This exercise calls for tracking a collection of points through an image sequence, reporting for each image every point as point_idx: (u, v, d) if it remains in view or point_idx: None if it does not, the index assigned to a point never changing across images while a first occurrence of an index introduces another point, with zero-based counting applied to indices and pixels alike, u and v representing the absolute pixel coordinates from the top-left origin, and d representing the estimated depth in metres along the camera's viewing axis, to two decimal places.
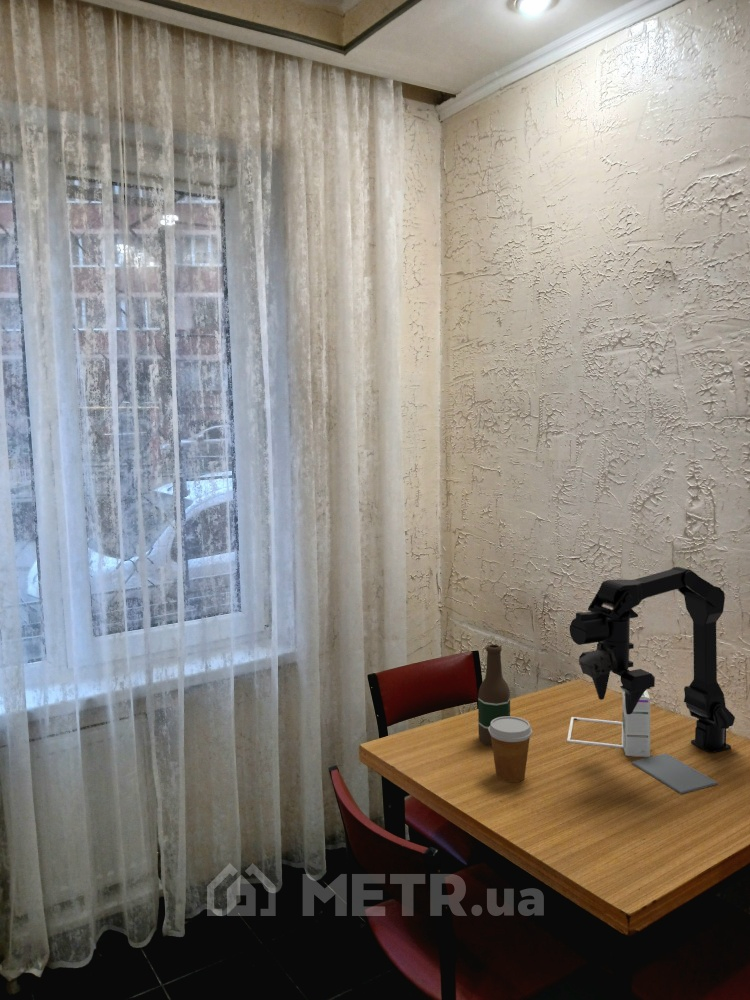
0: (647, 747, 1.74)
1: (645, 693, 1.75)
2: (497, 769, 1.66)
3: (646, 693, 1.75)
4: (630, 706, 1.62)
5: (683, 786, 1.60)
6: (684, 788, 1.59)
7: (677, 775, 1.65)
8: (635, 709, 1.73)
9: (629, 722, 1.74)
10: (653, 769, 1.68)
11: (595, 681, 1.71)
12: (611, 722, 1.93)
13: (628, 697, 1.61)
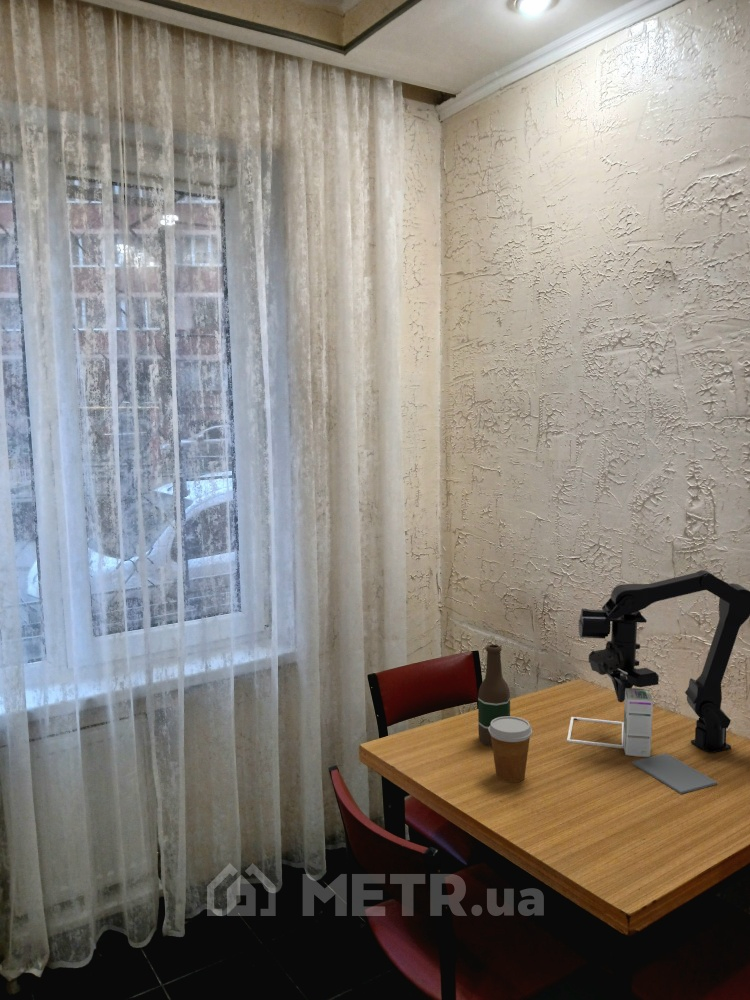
0: (648, 748, 1.74)
1: (648, 695, 1.74)
2: (497, 769, 1.66)
3: (649, 695, 1.74)
4: (622, 695, 1.79)
5: (683, 786, 1.60)
6: (684, 788, 1.59)
7: (677, 775, 1.65)
8: (637, 711, 1.72)
9: (631, 723, 1.73)
10: (653, 769, 1.68)
11: (615, 684, 1.80)
12: (611, 722, 1.93)
13: (620, 686, 1.78)
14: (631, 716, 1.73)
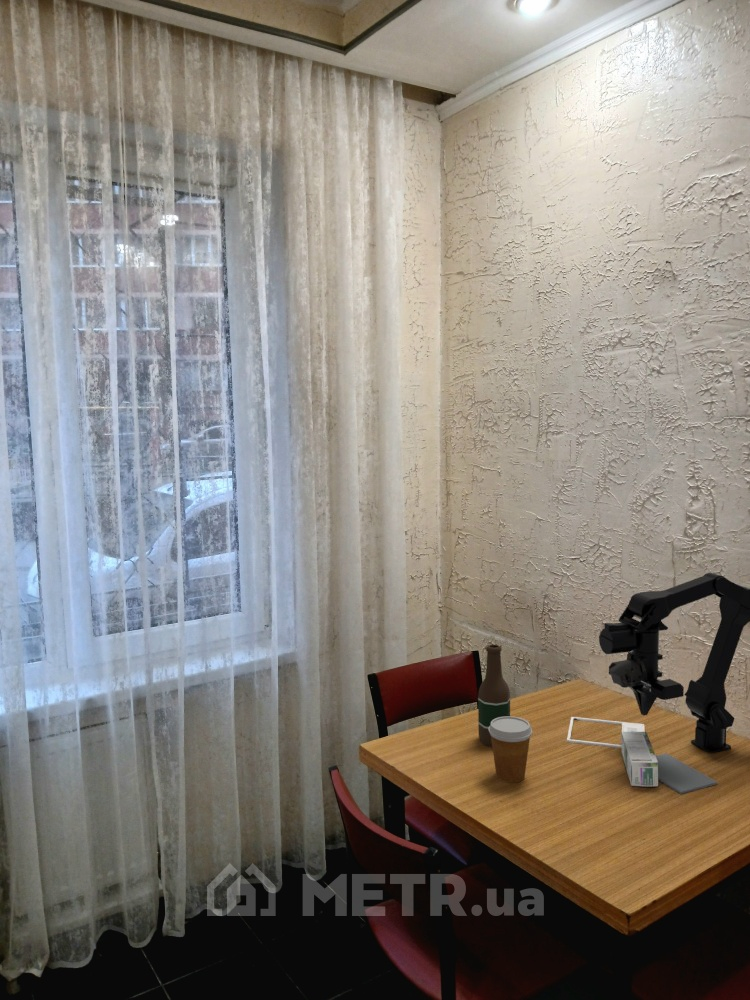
0: None
1: (654, 775, 1.60)
2: (497, 769, 1.66)
3: (655, 775, 1.60)
4: (646, 708, 1.73)
5: (683, 786, 1.60)
6: (684, 788, 1.59)
7: (677, 775, 1.65)
8: None
9: None
10: None
11: (637, 696, 1.74)
12: (611, 722, 1.93)
13: (644, 699, 1.71)
14: None
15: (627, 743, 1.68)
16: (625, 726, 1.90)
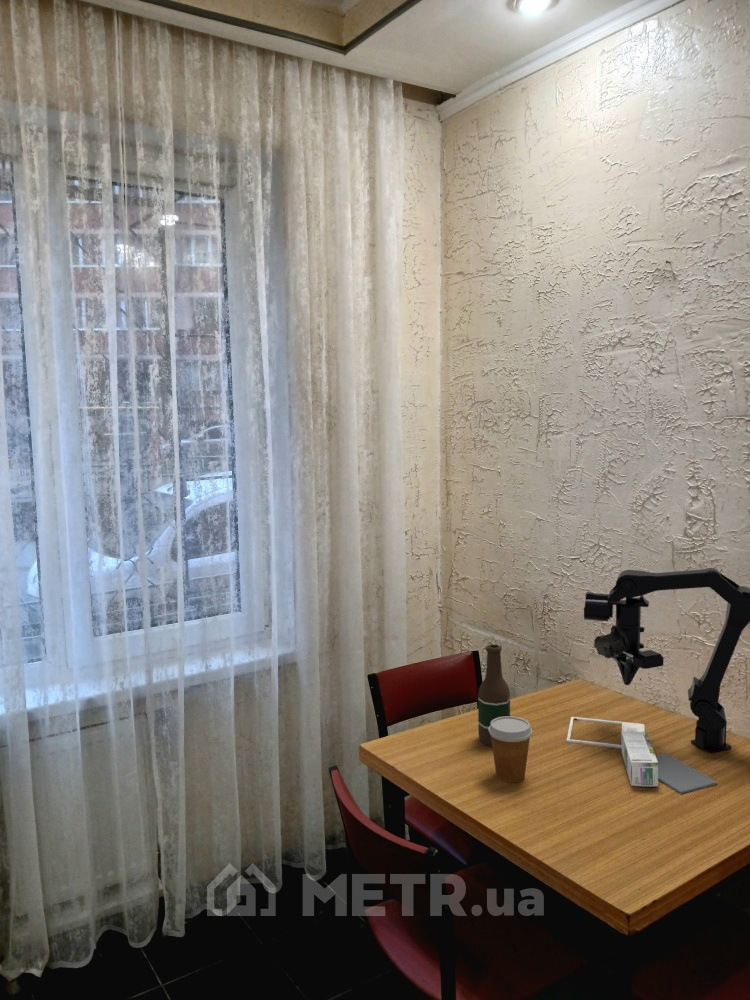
0: None
1: (654, 775, 1.60)
2: (497, 769, 1.66)
3: (655, 775, 1.60)
4: (628, 678, 1.83)
5: (683, 786, 1.60)
6: (684, 788, 1.59)
7: (677, 775, 1.65)
8: None
9: None
10: None
11: (620, 667, 1.85)
12: (611, 722, 1.93)
13: (627, 669, 1.82)
14: None
15: (627, 743, 1.68)
16: (625, 725, 1.90)
